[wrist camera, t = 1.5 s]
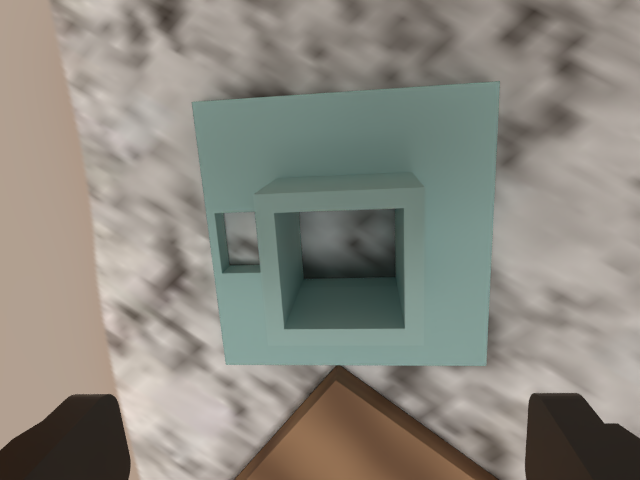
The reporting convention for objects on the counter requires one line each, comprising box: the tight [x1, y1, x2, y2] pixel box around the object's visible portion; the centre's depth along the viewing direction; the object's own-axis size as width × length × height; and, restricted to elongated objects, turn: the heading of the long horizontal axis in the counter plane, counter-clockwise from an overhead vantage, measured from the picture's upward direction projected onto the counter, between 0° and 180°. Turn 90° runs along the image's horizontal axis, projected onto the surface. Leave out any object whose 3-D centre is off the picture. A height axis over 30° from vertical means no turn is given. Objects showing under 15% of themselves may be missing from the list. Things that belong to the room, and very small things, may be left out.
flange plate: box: [192, 81, 500, 366], centre depth 19 cm, size 13×13×6 cm
